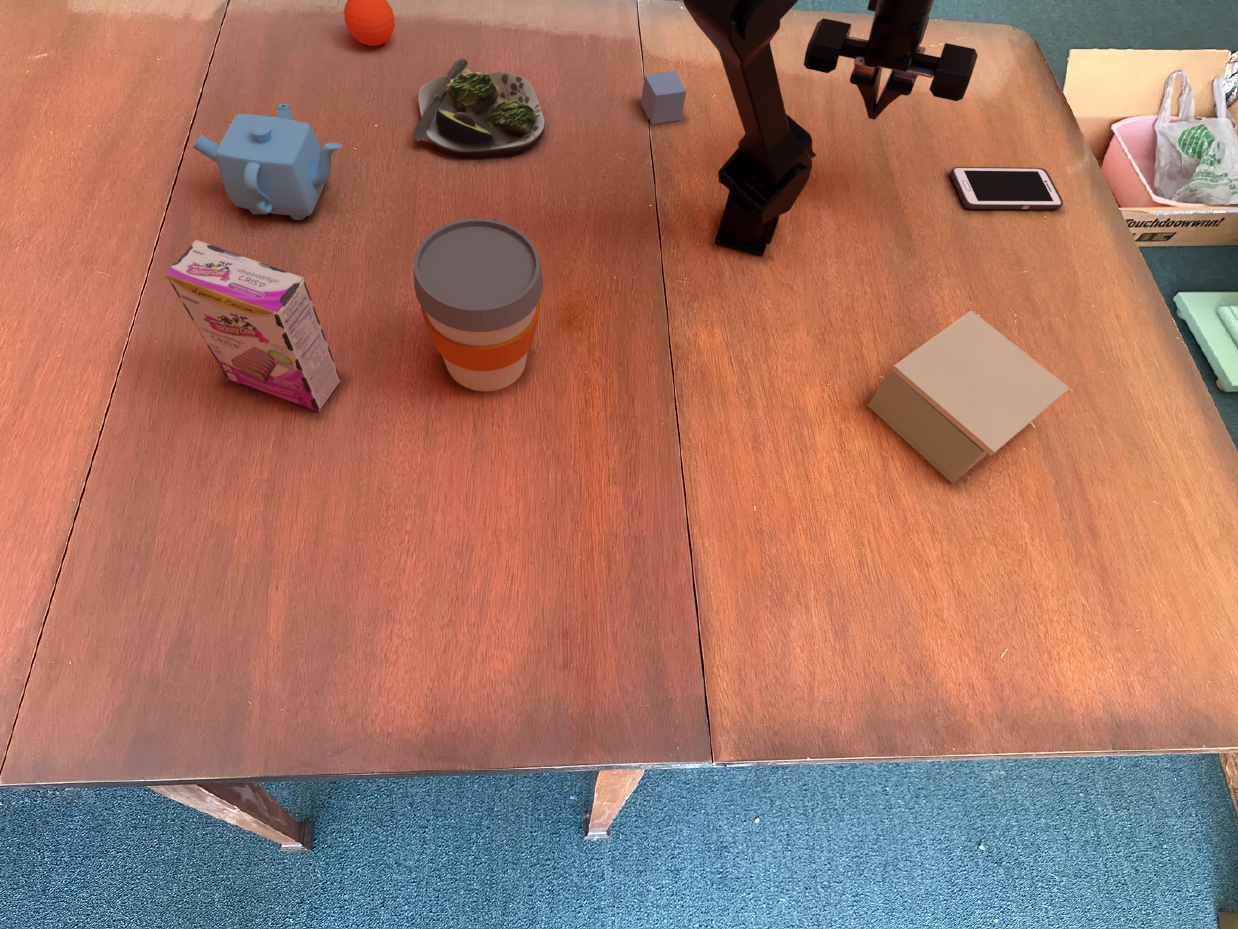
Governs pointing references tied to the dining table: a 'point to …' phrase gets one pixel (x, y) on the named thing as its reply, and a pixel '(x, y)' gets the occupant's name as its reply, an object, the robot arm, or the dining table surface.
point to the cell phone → (1005, 188)
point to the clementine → (369, 20)
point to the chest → (925, 428)
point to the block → (663, 97)
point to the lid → (980, 381)
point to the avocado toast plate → (479, 113)
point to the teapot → (271, 163)
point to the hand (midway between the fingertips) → (872, 116)
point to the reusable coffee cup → (480, 299)
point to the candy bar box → (257, 324)
